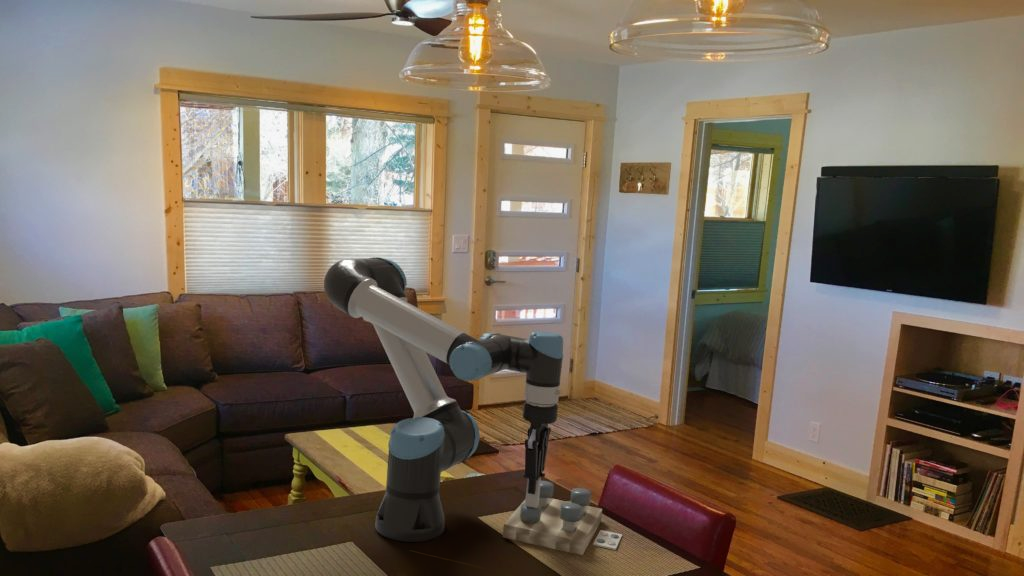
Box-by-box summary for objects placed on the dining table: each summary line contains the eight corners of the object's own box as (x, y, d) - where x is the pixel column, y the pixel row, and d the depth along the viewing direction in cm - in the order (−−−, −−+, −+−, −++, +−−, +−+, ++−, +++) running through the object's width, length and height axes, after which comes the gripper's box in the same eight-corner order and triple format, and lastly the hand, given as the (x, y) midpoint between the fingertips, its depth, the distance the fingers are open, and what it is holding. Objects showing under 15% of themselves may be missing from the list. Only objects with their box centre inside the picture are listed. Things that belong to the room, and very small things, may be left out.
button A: (515, 533, 166) (518, 508, 166) (522, 525, 171) (524, 501, 170) (535, 537, 165) (538, 512, 164) (541, 529, 169) (543, 505, 169)
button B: (529, 508, 175) (531, 485, 175) (535, 502, 180) (537, 479, 179) (548, 512, 174) (550, 489, 174) (553, 506, 178) (555, 483, 178)
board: (502, 537, 164) (503, 524, 164) (528, 505, 183) (529, 493, 183) (582, 555, 159) (584, 541, 159) (601, 521, 178) (602, 508, 178)
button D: (566, 516, 173) (569, 493, 172) (571, 509, 177) (573, 486, 177) (586, 521, 171) (588, 497, 171) (590, 513, 176) (593, 490, 175)
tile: (593, 545, 164) (593, 542, 164) (600, 531, 172) (600, 529, 172) (615, 550, 163) (615, 547, 163) (621, 536, 170) (622, 533, 170)
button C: (555, 533, 163) (558, 508, 163) (561, 525, 168) (563, 501, 167) (576, 537, 162) (579, 512, 161) (581, 529, 166) (583, 505, 166)
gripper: (549, 411, 157) (539, 519, 160) (564, 398, 170) (555, 499, 172) (515, 406, 160) (506, 512, 162) (533, 393, 172) (524, 493, 174)
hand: (531, 505), depth 167 cm, fingers closed
